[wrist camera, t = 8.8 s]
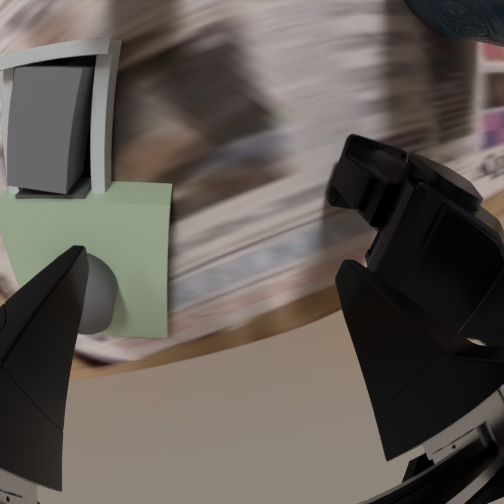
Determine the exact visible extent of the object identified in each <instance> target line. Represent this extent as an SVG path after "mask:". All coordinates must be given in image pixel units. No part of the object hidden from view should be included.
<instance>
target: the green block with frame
mask: <svg viewBox="0 0 504 504" xmlns="http://www.w3.org/2000/svg"><path fill="white" fill-rule="evenodd" d="M121 44H122V41H121V40H117V39H114V38H97V39H87V40H78V41H70V42H63V43H57V44H51V45H46V46H40V47H36V48H31V49H27V50H22V51H18V52H15V53H11V54H7V55H4V56H0V71H1V70H3V84H2V129H3V145H4V156H5V165H6V173H7V134H8V119H9V108H10V99H11V92H12V85H13V79H14V73H15V68H19V67H25V66H28V65H30V64H35V63H41V62H46V61H53V60H59V59H67V58H75V57H85V56H97V58H96V66H95V74H94V84H93V96H92V111H91V177H79V178H78V179H77V181H76V182H75V183H74V185H73V186H72V187H71V188H70V190H69V191H68V192H67V194H62V193H55V192H48V191H42V190H35V189H28V188H21V187H13V186H9V188H8V189H7V190H6V191H5V192H4V193H3V194H2V195H1V196H0V230H1V234H2V237H3V241H4V244H5V247H6V250H7V254H8V257H9V260H10V263H11V265H12V268H13V271H14V274H15V277H16V279H17V282H18V284H19V287H20V288H21V287H22V286H24V285H25V284H26V283H27V282H28V281H29V280H31V279H32V278H33V277H34V276H35V275H36V274H38V273H39V272H40V271H41V270H42V269H44V268H45V267H46V266H47V265H49V264H50V263H51V262H52V261H54V260H55V259H56V258H57V257H59V256H60V255H61V254H63V253H64V252H65V251H66V250H68V249H69V248H70V247H72V246H73V245H82V246H85V248H86V251H87V257H88V263H89V276H88V281H87V287H86V293H85V300H84V307H83V313H82V318H81V322H80V326H79V330H78V333H79V334H99V335H112V336H127V337H146V338H167V286H168V245H169V224H170V208H171V194H172V184H166V183H146V182H118V181H111V150H112V124H113V109H114V97H115V87H116V79H117V71H118V63H119V56H120V50H121Z"/></svg>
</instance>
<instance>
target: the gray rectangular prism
mask: <svg viewBox="0 0 504 504" xmlns="http://www.w3.org/2000/svg"><path fill="white" fill-rule="evenodd" d="M94 74H95V66H86V65H67V64H39V65H32V66H25V67H19V68H15V73H14V79H13V85H12V92H11V99H10V108H9V119H8V134H7V184H8V186H13V187H21V188H28V189H35V190H42V191H48V192H55V193H62V194H67V192H68V191H69V190H70V188H71V187H72V186H73V185H74V183H75V182H76V181H77V179H78V178H79V177H80V176H81V174H82V173H83V172H84V162H85V153H86V145H87V138H88V131H89V125H90V119H91V111H92V96H93V84H94Z"/></svg>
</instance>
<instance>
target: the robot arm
mask: <svg viewBox="0 0 504 504" xmlns="http://www.w3.org/2000/svg"><path fill="white" fill-rule="evenodd" d="M354 138H355V142H353V139H354ZM402 154H403V156H402ZM401 156H402V157H401ZM406 159H407V153H406V152H405V151H403V150H401V149H399V148H396V147H393V146H390V145H387V144H384V143H381V142H378V141H375V140H372V139H369V138H366V137H363V136H360V135H356V134H351V135H350V136H349V137H348V139H347V142H346V145H345V148H344V152H343V155H342V157H341V158H340V161H339V164H338V167H337V170H336V173H335V176H334V179H333V181H332V187H331V190H330V193H329V196H328V203H329V204H330V205H331V206H336V207H343V208H349V209H355V210H357V211H358V213H359V214H360V215H361V216H362V217H363V218H364V219H365V220H366V221H367V222H368V224H369V225H370V226H372V227H374V229H375V230H376V231H377V232H378V233H377V235H376V237H375V239H374V241H373V243H372V245H371V247H370V249H369V250H367V252H366V254H365V258H366V262H367V268H366V267H364V266H363V265H361V264H360V263H358V262H357V261H355V260H347V259H346V260H344V261H343V262H342V264H341V267H340V269H339V271H338V273H337V275H336V279H335V282H336V286H337V290H338V294H339V298H340V302H341V306H342V311H343V314H344V318H345V321H346V324H347V327H348V330H349V333H350V335H351V339H352V342H353V345H354V348H355V351H356V354H357V357H358V361H359V363H360V367H361V370H362V373H363V377H364V380H365V383H366V387H367V390H368V393H369V397H370V400H371V404H372V407H373V411H374V415H375V419H376V423H377V426H378V430H379V434H380V438H381V442H382V446H383V450H384V454H385V458H386V461H390V460H392V459H394V458H396V457H399V456H400V455H403V454H405V453H407V452H409V451H411V450H412V449H414V448H417V447H419V446H420V445H423V447H424V450H425V453H424V454H422V455H420V456H418V457H417V458H415V459H413V460H411V461H409V464H408V467H407V470H406V473H405V475H404V478H403V481H402V483H401V484H399V485H398V486H396V487H394V488H392V489H390V490H388V491H386V492H383V493H381V494H379V495H377V496H375V497H373V498H370V499H368V500H366V501H363V502H361V503H358V504H488V503H490V502H492V501H495V500H497V499H500V498H502V497H504V230H503V228H502V226H501V224H500V222H499V220H498V219H497V218H496V217H494V216H493V215H492V214H491V213H489V212H488V211H487V210H485V209H484V208H483V207H481V206H480V205H481V203H482V201H483V198H482V196H481V195H480V194H479V192H478V191H477V190H476V188H475V187H474V186H473V185H472V183H471V182H470V181H468V180H467V179H465V178H464V177H462V176H461V175H459V174H458V173H456V172H455V171H453V170H451V169H450V168H448V167H446V166H444V165H441V164H439V163H437V162H435V161H432V160H430V159H428V158H425V157H423V156H420V155H418V154H415V153H413V152H410V153H409V156H408V159H409V160H408V163H406ZM334 198H335V200H334V201H332V200H333V199H334ZM88 276H89V263H88V257H87V251H86V248H85V246H82V245H73V246H72V247H70V248H69V249H68V250H66V251H65V252H64V253H63V254H61V255H60V256H59V257H57V258H56V259H55V260H54V261H52V262H51V263H50V264H49V265H47V266H46V267H45V268H44V269H42V270H41V271H40V272H39V273H38V274H36V275H35V276H34V277H33V278H32V279H31V280H29V281H28V282H27V283H26V284H25V285H24V286H22V287H21V288H20V289H19V290H18V291H17V292H16V293H15V294H13V295H12V296H11V297H10V298H9V299H8V300H7V301H6V302H5V304H3V305H1V306H0V504H40V503H39V502H38V501H37V485H39V486H42V487H46V488H49V489H52V490H56V491H60V492H62V445H63V427H64V416H65V406H66V398H67V390H68V383H69V377H70V371H71V365H72V359H73V354H74V349H75V344H76V339H77V335H78V330H79V326H80V322H81V318H82V313H83V307H84V300H85V293H86V287H87V281H88ZM468 339H470V340H478V341H480V342H481V343H483V344H484V345H485V346H482V345H477V344H474V343H472V342H471V341H469V340H468Z"/></svg>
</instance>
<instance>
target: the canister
mask: <svg viewBox="0 0 504 504" xmlns="http://www.w3.org/2000/svg"><path fill="white" fill-rule="evenodd" d="M405 1H406V2H407V4H408V5H409V6H410V7H411V9H412V10H413V11H414V12H415V13H416V14H417V15H418V16H419V17H420V18H421V19H422V20H423V21H424V22H425V23H426V24H428V25H429V26H430V27H432V28H433V29H435V30H436V31H438V32H440V33H442V34H445V35H448V36H450V37H452V38H455V39H458V40H463V41H468V42H477V41H478V42H483V43H488V44H492V45H496V46H500V47H504V0H405Z"/></svg>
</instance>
